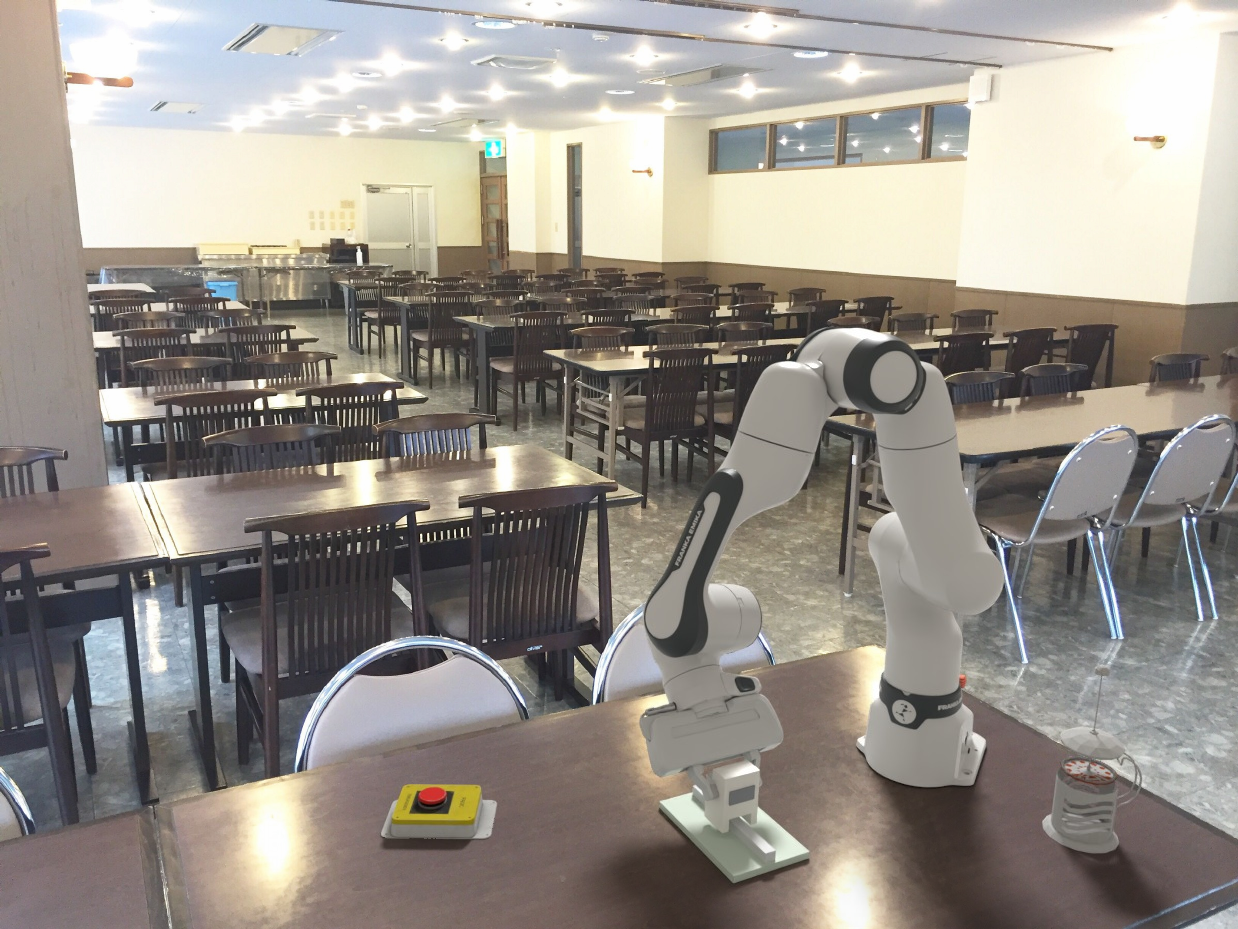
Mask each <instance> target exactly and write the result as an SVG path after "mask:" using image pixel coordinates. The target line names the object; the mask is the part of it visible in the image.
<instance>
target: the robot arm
mask: <svg viewBox="0 0 1238 929" xmlns="http://www.w3.org/2000/svg"><path fill="white" fill-rule="evenodd" d="M946 383H947V382H946V380H945V377H944V375H943V374H942V372H941V370H940V369H939V368H938V367H936V366H935V365H934V364H931V363H929V362H925V361H921V359H920V357H919V356H918V354H917V352H916V351H915V350H914V349H913V347H912V346H910V345H909V344H908V343H907V342H906V341H905V340H903V339H901V338H899V337H898V336H895V335H893V334H889V333H881V332H878V331H875V330H871V329H867V328H862V327H852V328H850V327H849V328H844V327H839V326H829V327H828V326H827V327H823V328H820V329H817V330H814V331H813V332H811V333H809V334H808V335H807V336H806V337H804V339H803V340H802V341H801V342H799V345H797V348H796V349H795V350H794V353H793V354H792V355H791V356H789V357H788V359H787V361H786V360H785V361H778V362H775V363H772V364H770V365H769V366H768V367H766V368H765V369H764V370H763V371H762V373H761V374H760V376H759V378H758V380H757V381H756V384H755V386H754V388H753V390H752V392H751V393H750V396H749V399H748V401H747V403H746V405H745V407H744V411H743V414H742V416H741V418H740V421H739V425H738V427H737V430H736V434H735V436H734V440H733V442H732V445H731V447H730V449H729V451H728V453H727V455H726V457H724V458H725V459H724V460H723V462H722V463H721V465H720V466H719V468H718V469H717V470H716V472H714V473H713V474H712V475H711V476H710V477H709V478H708V480H707V481H706V482H705V484H704V485H703V487H702V489H701V490H700V493H699V495H698V497H697V499H696V502H695V503H694V506H693V507H692V510H691V512H690V515H689V517H688V519H687V521H686V524H685V526H684V528H683V531H682V532H681V535H680V537H679V540H678V542H677V544H676V546H675V549H674V551H673V553H672V555H671V556H672V557H671V559H670V560H669V563H668V564H667V567H666V569H665V571H664V573H663V574H662V575H661V578H659V581H658V582H657V583H656V585H655V586H654V587H653V589H652V590H651V592H650V594H649V596H648V598H647V600H646V601H645V603H644V604H643V607H642V622H643V628H644V629H643V630H644V633H645V637H646V641H647V643H648V647H649V649H650V650H649V651H650V653H651V656H652V658H653V660H654V663H655V664H656V666H657V667H658V668H659V670H660V673H661V679H662V682H661V683H662V687H663V690H664V693H665V695H666V699H667V701H668V703H666V704H663V705H659V706H656V707H653V706H652V707H649V708H646V709H645V710H644V712H643V713H642V714H641V715H640V717H639V722H638V725H639V728H640V730H641V734H642V737H643V738H644V739H645V744H646V750H647V754H648V760H649V764H650V766H651V767H650V768H651V769H652V773H654V774H655V775H656V776H657V777H658V778H660V779H661V778H666V777H670V776H673V775H677V774H682V773H685V772H687V773H686V774H687V776H688V780H689V781H690V782H692V783H693V784H694V785H696V786H697V787H698V788H699V789H701V790H702V793H703V796H704V799H705V801H711V800H714V799H716V798H718V797H719V792H718V790H717V786H716V783H714V784H710V783H709V782H708V781H707V780H706V778H705V777H704V775H703V773H704V772H705V771H704V767H708V766H713V765H716V764H719V763H723V762H724V763H725V762H728V761H731V760H735V759H740V758H743V761H745V760H748V761H749V762H751V763H752V764H753V765H754V766H756V767H757V768H758V769H759V770H760V767H761V759H762V757H761V754H760V753H763V752H767V751H771V750H774V749H776V747H778V746H779V745H781V744H782V743H783V739H784V736H785V735H784V734H785V732H784V730H783V727H782V724H781V722H780V720H779V717H778V715H777V713H776V711H775V709H774V707H773V705H772V704H771V702H770V700H769V699H768V698H767V697H766V696H765V695H763V694H761V693H759V692H760V691H761V690H762V684H761V682H760V680H759V678H758V677H756V676H751V675H750V676H749V675H743V674H742V675H741V674H736V673H730V672H727V671H723V668H722V665H721V663H720V659H721V657H723V656H725V655H729V654H732V653H735V652H738V651H741V650H743V649H746V648H749V647H750V646H751V645H753V644H754V643H755V641H756V640H757V639H758V637H759V635H760V632H761V629H762V626H763V612H762V609H761V604H760V602H759V600H758V598H757V597H756V595H755V594H754V592H752V590H750V588H748V587H746V586H744V585H741V584H739V585H738V584H734V583H723V582H722V583H718V582H715V583H714V582H713V583H711V581H712V579H713V577H714V574H715V572H716V570H717V567H718V565H719V563H720V561H721V558H722V556H723V554H724V551H725V549H726V546H727V544H728V542H729V540H730V538H731V536H732V535H733V533H734V532H735V531H736V529H738V527H739V526H741V524H744V522H745V521H747V520H748V519H750V518H752V517H754V516H756V515H758V514H760V513H762V512H764V511H767V510H770V509H772V508H776V507H779V506H781V505H784V504H785V503H787V502H789V501H790V500H792V499H793V498H794V497H795V496H797V494H799V492H800V491H801V489H802V487H803V485H804V483H806V481H807V479H808V476H809V473H810V471H811V468H812V464H813V462H814V459H815V455H816V451H817V448H818V445H819V441H820V437H821V434H822V429H823V428H824V425H825V424H826V422H827V420H828V419H829V418H830V417H831V415H832V414H833V413H834V412H836V410H838V408H843V409H853V410H858V411H859V410H860V411H862V412H865V413H869V414H872V417H873V420H874V423H875V434H876V444H877V451H878V458H879V464H880V472H881V478H882V486H883V491H884V494H885V497H886V498H887V501H888V502H889V503H890V505H891V506H892V507H893V509H894V511H892V512H889V513H886V514H884V515H883V516H882V517H880V518H879V519H877V521H876V522H875V523H874V525H873V526H872V527H871V530H870V532H869V534H868V538H867V540H868V541H867V544H868V545H867V548H868V552H869V554H870V557H871V559H872V561H873V564H874V565H875V568H876V571H877V574H878V578H879V583H880V589H881V595H882V600H883V606H884V614H885V623H886V639H885V656H884V669H883V671H882V673H881V674H880V680H879V684H878V685H879V686H878V687H879V688H878V689H879V693H878V698H875V700H873V701H871V702H870V705H869V710H868V718H867V724H866V729H865V730H866V731H865V734H864V735H863V736H860V737H858V738H857V740H856V745H855V746H856V747H857V748H858V750H860V751H861V752H862V753H863V754H864V756H865V759H866V762H867V763H868V765H869V766H870V767H871V769H873V770H874V772H876V773H878V774H879V775H880V776H883V777H885V778H886V779H889V780H891V781H895V782H897V783H899V784H900V783H901V784H904V785H907V786H913V787H921V788H938V787H944V786H945V787H946V786H961V787H962V786H964V787H965V786H966V787H967V786H968V787H969V786H972V785H974V784H975V780H976V777H977V775H978V771H979V769H980V766H981V763H982V760H983V756H984V753H985V750H986V747H987V741H986V739H985V738H984V737H983V736H982V735H980V734H979V733H976V732H974V731H973V727H974V726H973V725H974V713H973V712H972V711H971V709H969V708H968V706H966V705H965V704H964V703H963V691H962V689H964V688H965V687H966V684H967V679H968V678H967V675H963V674H961V667H962V666H961V665H962V656H963V647H964V646H963V645H964V638H963V634H962V630H961V628H960V626H959V624H958V622H957V620H956V618H955V616H954V615H955V614H954V613H956V614H961V615H964V616H974V615H977V614H978V615H979V614H981V613H983V612H985V611H986V610H988V609H990V608H991V607H992V606H993V605H994V604H995V603H996V601H997V600H998V599H999V597H1000V596H1001V593H1002V591H1003V589H1004V588H1003V587H1004V585H1005V572H1004V569H1003V565H1002V563H1001V562H1000V560H999V559H998V558H997V556H996V555H995V553H994V552H993V551H992V550H991V548H990V546H989V545H988V543H987V541H986V539H985V537H984V535H983V533H982V531H981V529H980V526H979V523H978V520H977V517H976V515H975V513H974V511H973V507H972V505H971V502H970V501H969V497H968V494H967V490H966V487H965V483H964V479H963V472H962V465H961V457H960V450H959V449H960V448H959V442H958V433H957V432H958V431H957V427H956V418H955V414H954V410H953V409H954V408H953V405H952V401H951V397H950V393H949V390H948V386H947V384H946ZM762 785H763V780H762V776H760V779H759V788H760V787H762Z"/></svg>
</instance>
